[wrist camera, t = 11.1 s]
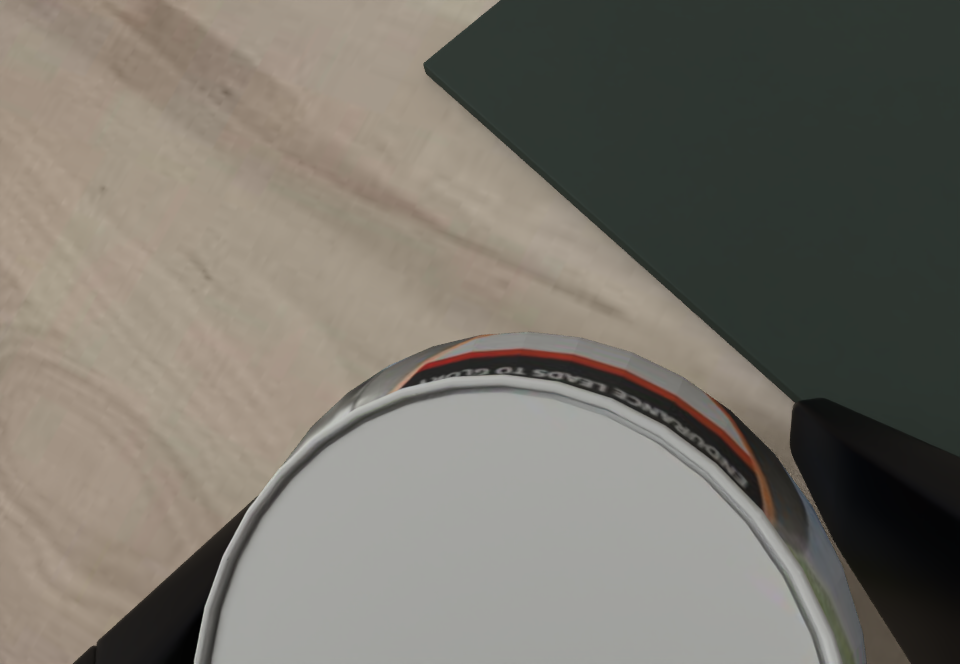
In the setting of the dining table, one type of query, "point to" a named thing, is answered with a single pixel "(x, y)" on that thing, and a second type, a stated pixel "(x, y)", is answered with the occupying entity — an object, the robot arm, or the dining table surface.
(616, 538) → the beverage can
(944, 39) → the drip mat
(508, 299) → the dining table surface
